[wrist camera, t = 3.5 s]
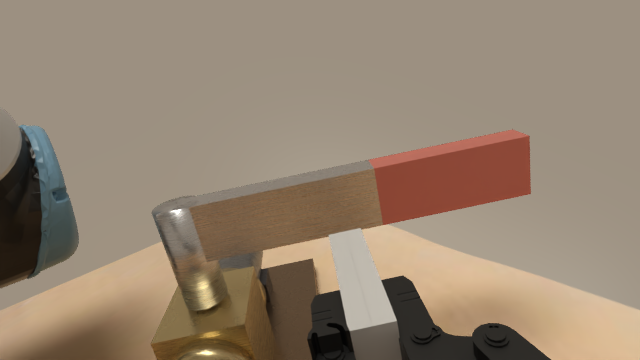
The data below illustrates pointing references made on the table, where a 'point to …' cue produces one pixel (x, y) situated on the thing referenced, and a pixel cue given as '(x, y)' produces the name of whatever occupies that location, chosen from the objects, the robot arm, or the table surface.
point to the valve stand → (244, 315)
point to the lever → (334, 205)
